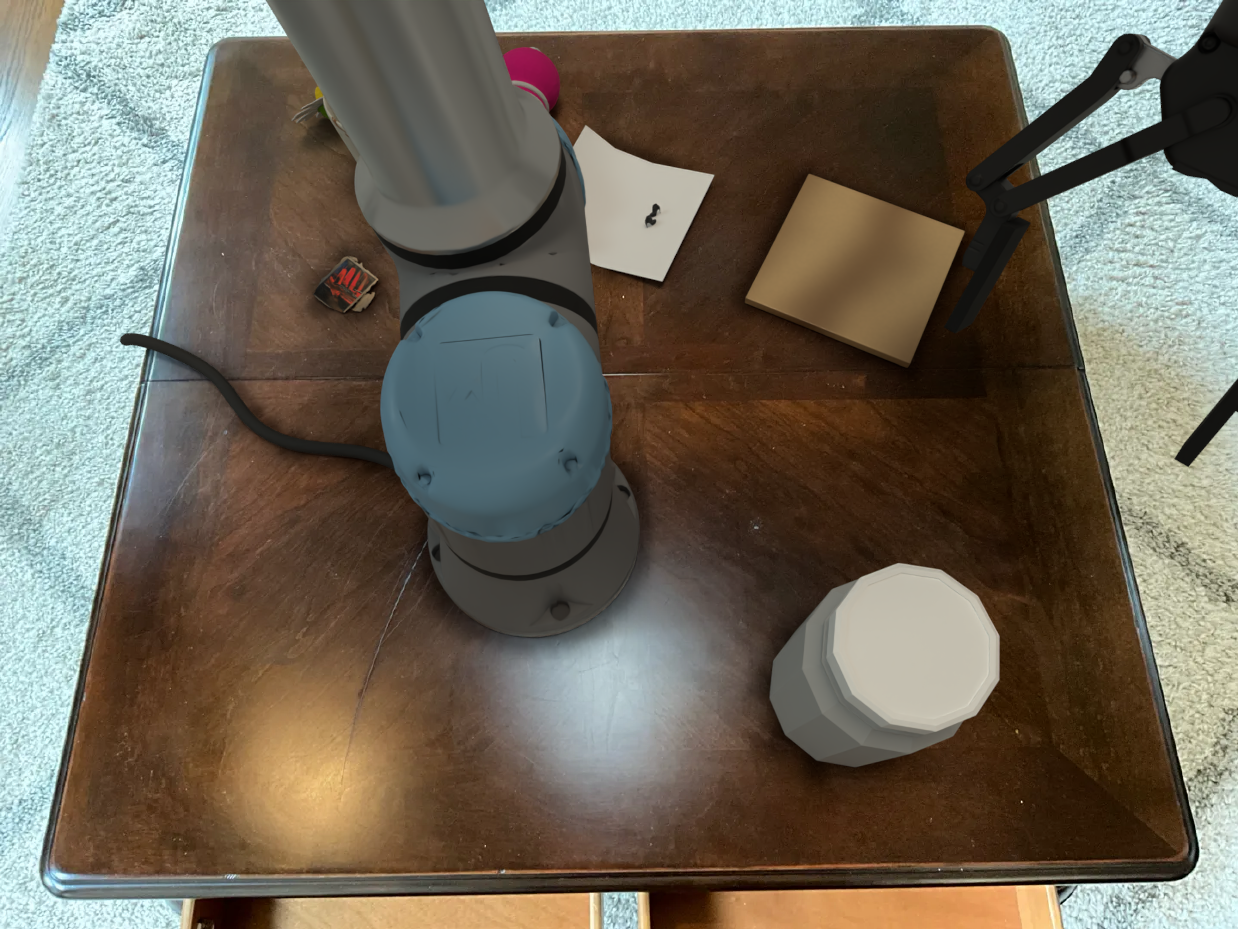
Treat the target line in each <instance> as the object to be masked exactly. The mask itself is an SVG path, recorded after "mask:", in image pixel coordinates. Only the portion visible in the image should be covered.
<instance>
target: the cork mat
mask: <svg viewBox="0 0 1238 929" xmlns="http://www.w3.org/2000/svg"><path fill="white" fill-rule="evenodd" d="M965 233H966V231H965V230H963V229H960V228H957V227H955V226H952V225H949V224H947V223H944V222H941V221H940V220H939V221H938V220H936V219H933V218H930V217H927V216H925V215H922V214H919V213H917V212H914V211H911V210H909V209H907V208H903V207H901V206H898V205H896V204H893V203H890V202H888V201H884V200H882V199H879V198H876V197H874V196H871V195H868V194H865V193H863V192H860V191H857V190H854V189H853V188H849V187H847V186H844V185H841V184H839V183H836V182H833V181H830V180H827V179H825V178H822V177H820V176H817V175H814V174H811V173H808V174H807V176H806V178H805V180H804V182H803V184H802V186H801V188H800V190H799V192H798V194H797V195H796V198H795V199H794V202H793V203H792V206H791V207H790V210H789V211H788V214H787V216H786V217H785V218H784V221H783V223H782V225H781V227H780V229H779V231H778V233H777V235H776V237H775V239H774V241H773V243H772V244H771V247H770V249H769V251H768V253H767V255H766V257H765V258H764V261H763V263H762V265H761V266H760V268H759V270H758V273H757V274H756V276H755V279H754V280H753V282H752V284H751V286H750V288H749V290H748V292H747V294H746V295H745V299H744V304H747V305H748V306H751V307H754V308H756V309H758V310H762V311H764V312H767V313H768V314H772V315H773V316H777V317H779V318H781V319H784V320H787V321H789V322H791V323H794V324H797V325H799V326H801V327H803V328H806V329H809V330H810V331H814V332H816V333H819V334H821V335H824V336H826V337H828V338H831V339H833V340H835V341H839V342H841V343H844V344H846V345H848V346H851V347H854V348H856V349H858V350H860V351H863V352H866V353H869V354H871V355H873V356H875V357H878V358H881V359H882V360H883V359H884V360H886V361H888V362H891V363H893V364H896V365H898V366H900V367H903V368H906V369H908V368H909V366H910V365H911V363H912V361H913V358H914V356H915V353H916V351H917V348H918V346H919V343H920V340H921V339H922V337H923V334H924V331H925V329H926V327H927V324H928V321H929V319H930V318H931V315H932V312H933V310H934V308H935V305H936V302H937V301H938V298H939V295H940V294H941V293H940V292H941V291H942V288H943V286H944V283H945V281H946V279H947V276H948V273H949V272H950V268H951V267H952V263H953V262H954V260H955V258H956V254H957V252H958V249H959V247H960V245H961V241H962V240H963V238H964V235H965Z"/></svg>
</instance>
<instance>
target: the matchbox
mask: <svg viewBox="0 0 1238 929" xmlns="http://www.w3.org/2000/svg"><path fill="white" fill-rule="evenodd" d="M377 281H379V278H377V276H376V275H374V274H373V273H371V271H369V269H365V267H364V266H363V262H360V263H359V262H358V258H357V257H354V256H352V255H347V254H346V256H344V257H343V258H341V260H340V261H339V262H338V264H335V265H334V267H333V268H332V269H331V270H330V272H329V273H327V275H326V276H323V277H322V278H321V279H320V281H319V283H318V285H317V286H316V288H315V290H314V292H313V293H312V295H313V296H314V297H315V298H316V299H317V300H318V301H320V302H322V305H323V304H324V306H327V307H328V308H331V309H333V310H336V311H338V312H340V313H346V311H348V310H349V309H350V310H351V311H354V312H362V311H363V309H364V310H366V309H367V307H369V304H370V303H371V302H372V300H373V299H374V297H375V295H376V293H375V291H371V294H370V293H367V292H369V291H370V290H371V288H372V287H373V286H374V285H376V283H377ZM355 303H356V304H355ZM354 305H355V306H354ZM353 306H354V307H353ZM352 307H353V308H352Z"/></svg>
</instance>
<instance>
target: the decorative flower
mask: <svg viewBox="0 0 1238 929" xmlns="http://www.w3.org/2000/svg"><path fill="white" fill-rule="evenodd" d="M314 97H315V100H313V101H312V102H309V103H307V104H305V105H304V106H302V107H301V108H300V109H299V110H300V111H299V112H297V113H296V114H295V115H294V116H293V117H292V118H291V122H295V123H296V125H298V124H300V123H301V122H303V121H304V122H307V121H309V120H311V118H314V117H316V119H320V118H322V117H324V118H326V119H327V120H328V121H329V120H330V118H329V117H328V115H327V113H326V110H325V107H324V103H323V94H322V92H321V90H320V89H319V87H318V85H317V84H316V88H315V90H314ZM330 121H331V120H330Z"/></svg>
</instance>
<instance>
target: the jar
mask: <svg viewBox="0 0 1238 929" xmlns="http://www.w3.org/2000/svg"><path fill="white" fill-rule="evenodd" d="M771 669H772V671H771V678H770V688H769V701H770V703H771V705H772V708H773V710H774V713H775V715H776V717H777V719H778V722H779V724H780V727H781V729H782V732H783V733H784V735H785V736H786V737H787V738H788V739H790V740H791V741H792V742H793V743H795V744H796V745H797V746H798V747H800V749H802V750H803V751H804V752H805V753H807V754H808V755H809V756H811V757H812V758H813V759H814V760H815V761H817V762H823V763H829V764H835V765H839V766H840V765H841V766H845V767H846V766H847V767H852V768H859V767H862V766H866V765H870V764H875V763H879V762H883V761H887V760H891V759H895V758H899V757H903V756H907V755H911V754H914V753H916V752H918V751H921V750H923V749H925V748H928V747H931V746H933V745H935V744H938V743H940V742H943V741H945V740H947V739H950V738H952V737H954V736H955V734H956V733H957V731H958V730H959V729H960V727H961V725H962V724H963V723H964V721H966V720H968V719H971V718H973V717H976V716H977V715H978V713H979V712H980V710H981V709H982V707H983V705H984V704H985V703H986V702H987V700H988V698H989V696H990V695H991V693H992V692H993V690H994V689H995V687H996V686H997V684H998V683H999V681H1000V634H999V633H998V631H997V629H996V627H995V625H994V623H993V621H992V620H991V618H990V616H989V614H988V612H987V610H986V608H985V606H984V604H983V603H982V601H981V599H980V597H979V596H978V595H977V594H976V593H974V592H973V591H972V590H970V589H969V588H967V587H966V586H964V585H963V584H962V583H960V582H959V581H957V579H956V578H954V577H953V576H951V575H949V574H948V573H947V572H945V571H944V570H942V569H939V568H932V567H927V566H920V565H914V564H908V563H901V562H898V563H894V564H892V565H889V566H886V567H884V568H882V569H881V568H880V569H878V570H876V571H873V572H871V573H868V574H865V575H862V576H861V577H859V578H858V579H855V580H852V581H850V582H849V581H848V582H847V583H844V584H841V585H839V586H837V587H834V588H831V589H830V591H829V592H828V593H827V594H826V596H824V597H823V599H822V600H821V601H820V603H819V604H818V605H817V606H816V607H815V608H814V609H813V611H812V612H811V613H810V614H809V615H808V616H807V617H806V619H804V621H803V622H801V624H800V625H799V626H798V627H797V629H796V630H795V631H794V632H793V634H792V635H791V637H790V638H789V639H788V640H787V642H786V643H785V644H784V646H783V647H782V649H780V651H779V652H778V654H777V655H776V656H775V657H774V659H773V661H772V668H771Z"/></svg>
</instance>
